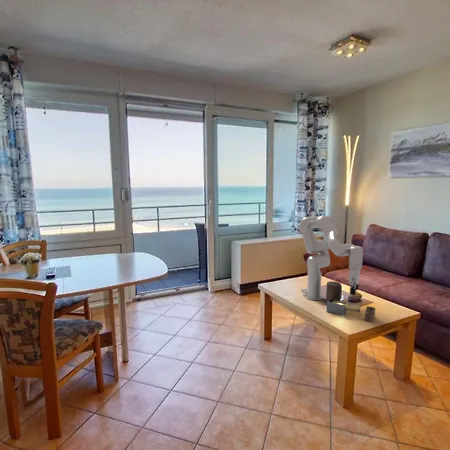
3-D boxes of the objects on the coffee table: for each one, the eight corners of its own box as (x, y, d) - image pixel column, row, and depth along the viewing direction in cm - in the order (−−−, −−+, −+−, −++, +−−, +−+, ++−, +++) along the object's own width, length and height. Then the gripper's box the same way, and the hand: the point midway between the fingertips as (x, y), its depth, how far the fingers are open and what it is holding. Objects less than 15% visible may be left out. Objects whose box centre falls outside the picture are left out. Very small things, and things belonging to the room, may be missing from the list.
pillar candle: (341, 305, 209) (342, 284, 206) (326, 303, 211) (327, 283, 208) (338, 299, 218) (340, 280, 216) (324, 298, 220) (326, 278, 218)
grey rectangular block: (326, 311, 198) (327, 301, 197) (328, 308, 203) (329, 298, 202) (344, 315, 193) (344, 305, 191) (345, 312, 198) (346, 302, 197)
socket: (364, 320, 186) (365, 309, 185) (365, 316, 192) (366, 306, 191) (373, 322, 184) (374, 311, 182) (374, 318, 189) (375, 307, 188)
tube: (332, 307, 197) (333, 302, 196) (333, 305, 200) (334, 300, 200) (359, 313, 189) (359, 308, 188) (359, 311, 192) (360, 305, 191)
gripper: (351, 261, 197) (349, 287, 200) (346, 268, 183) (345, 295, 185) (363, 263, 193) (362, 289, 196) (359, 270, 179) (358, 297, 181)
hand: (353, 292), depth 190 cm, fingers open, 9 cm apart
